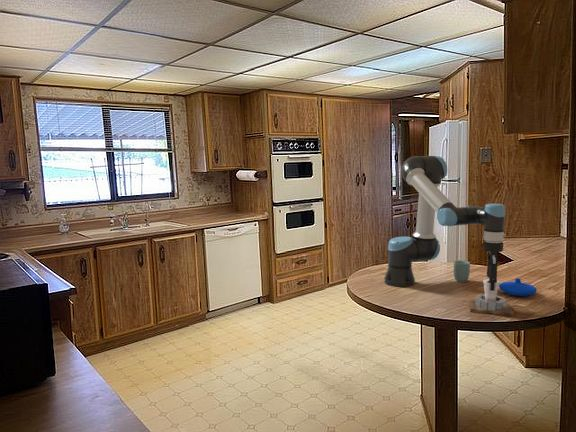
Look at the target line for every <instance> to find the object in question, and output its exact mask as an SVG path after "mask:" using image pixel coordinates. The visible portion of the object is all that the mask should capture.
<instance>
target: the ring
mask: <svg viewBox="0 0 576 432" xmlns="http://www.w3.org/2000/svg"><path fill="white" fill-rule="evenodd" d="M474 301H475V305H476V307H478V308H480V309H484V310H489V311H502V310H505V309H506V303H507V299H506V298H505V297H503V296H500V295H497V296H496V301H488V300H485V293H483V294H482V293H481V294H477V295H475V300H474Z"/></svg>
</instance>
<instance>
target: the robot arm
mask: <svg viewBox="0 0 576 432" xmlns="http://www.w3.org/2000/svg"><path fill="white" fill-rule="evenodd" d="M400 172H401V176H402V179H403V180H404V181H405V182H406V183H407V185H409V186H412V187H414V189H415V190H416V191H417V193H418V202H417V214H416V224H415V225H416V226H415V231H414V232H413V233H412V236H406V235H405V236H396V237H393V238H391V239H390V240H389V241H388V247H387V250H388V260H387V261H388V262H387V263H388V266H387V270H386V273H385V275H384V284H385V285H388V286H393V287H401V288H402V287H404V288H405V287H411V286H414V285H415V283H416V281H415V279H416V278H415V275H414V272H413V269H412V267H413V264H412V263H413V262H423V261H424V262H425V261H427V262H428V261H433V260H434V259H436V258H437V257H438V256H439V255H440V251H441V244H440V241H439V240H438V239H437V236H436V234H435V233H434V227H435V218H436V220H437V223H438V224H439V225H440V226H443V227H453V226H466V225H480V226H484V227H483V242H482V243H483V245H482V249H483V250H484V252H487V254H486V258H487V259H486V261H487V265H486V267H487V268H486V277H487V278H486V279H489V281H487V283H489V284H488V298H495V292H496V283H497V280H498V265H499V264H498V263H499V255H498V253H501V252H503V251H504V242H503V241H504V237H505V236H506V233H505V232H504V231H505V221H506V206H505V205H504V204H503V203H487V204H485V205H484V207H483V206H477V205H468V206H464V207H463V206H462V207H461V206H460V207H457V206H455V204H454V203H453V202H452V201H451V200H450V199H449V198H448V197H447V196H446V195H445V193H444V192H442V191H441V190H440V188H438V187H439V186H440V185H441V184H442V180H443V179H445V178H446V176H447V174H448V165H447V162H446V161H445V158H443V157H442V156H437V155H421V156H420V155H419V156H418V155H416V156H415V155H414V156H411V157H408V158H407V159H406V160H405V161H404V162H403V163H402V166H401V170H400ZM492 279H494V280H492Z"/></svg>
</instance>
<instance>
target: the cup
mask: <svg viewBox="0 0 576 432" xmlns="http://www.w3.org/2000/svg"><path fill="white" fill-rule="evenodd" d="M470 268H471V263H470V261H468V260H454V261H453V279H455V281H457V282H459V283H460V282H461V283H465V282H467V281H468V280H469V277H470V273H471V270H470Z"/></svg>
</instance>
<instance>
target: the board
mask: <svg viewBox="0 0 576 432" xmlns="http://www.w3.org/2000/svg"><path fill="white" fill-rule="evenodd" d="M468 305H469V312H470V313H478V312H480V314H488V313H491V315H499V314H500V316H501V315H502V316H509V315H513V316H514V311H513V309H512V307H511V304H510V303H507V302H506V309H505V310H502V311H489V310H484V309H480V308H478V307H476V305H475V300H471V299H470V300H468ZM492 313H493V314H492Z"/></svg>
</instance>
